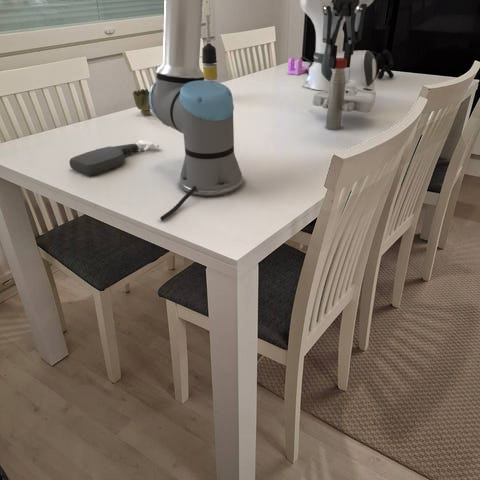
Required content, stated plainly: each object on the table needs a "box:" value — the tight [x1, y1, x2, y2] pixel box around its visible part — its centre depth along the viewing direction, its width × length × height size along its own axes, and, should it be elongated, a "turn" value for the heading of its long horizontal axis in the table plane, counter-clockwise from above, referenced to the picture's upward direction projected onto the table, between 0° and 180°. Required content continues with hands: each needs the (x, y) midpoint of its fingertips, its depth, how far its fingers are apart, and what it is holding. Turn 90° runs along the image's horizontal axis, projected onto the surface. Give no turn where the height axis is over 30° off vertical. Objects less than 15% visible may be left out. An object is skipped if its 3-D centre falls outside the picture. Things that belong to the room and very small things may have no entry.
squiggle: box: [370, 49, 394, 80], centre depth 203 cm, size 11×10×15 cm
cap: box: [336, 58, 347, 69], centre depth 135 cm, size 4×4×2 cm
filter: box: [201, 14, 218, 82], centre depth 171 cm, size 6×6×30 cm
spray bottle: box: [68, 139, 160, 177], centre depth 124 cm, size 3×11×24 cm
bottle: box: [325, 68, 347, 131], centre depth 140 cm, size 5×5×20 cm
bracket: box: [287, 57, 309, 76], centre depth 217 cm, size 13×6×7 cm, turn 143°
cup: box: [132, 88, 152, 116], centre depth 160 cm, size 8×7×8 cm
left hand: (339, 67), depth 136 cm, fingers closed on cap, 4 cm apart
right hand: (334, 107), depth 141 cm, fingers closed on bottle, 5 cm apart
